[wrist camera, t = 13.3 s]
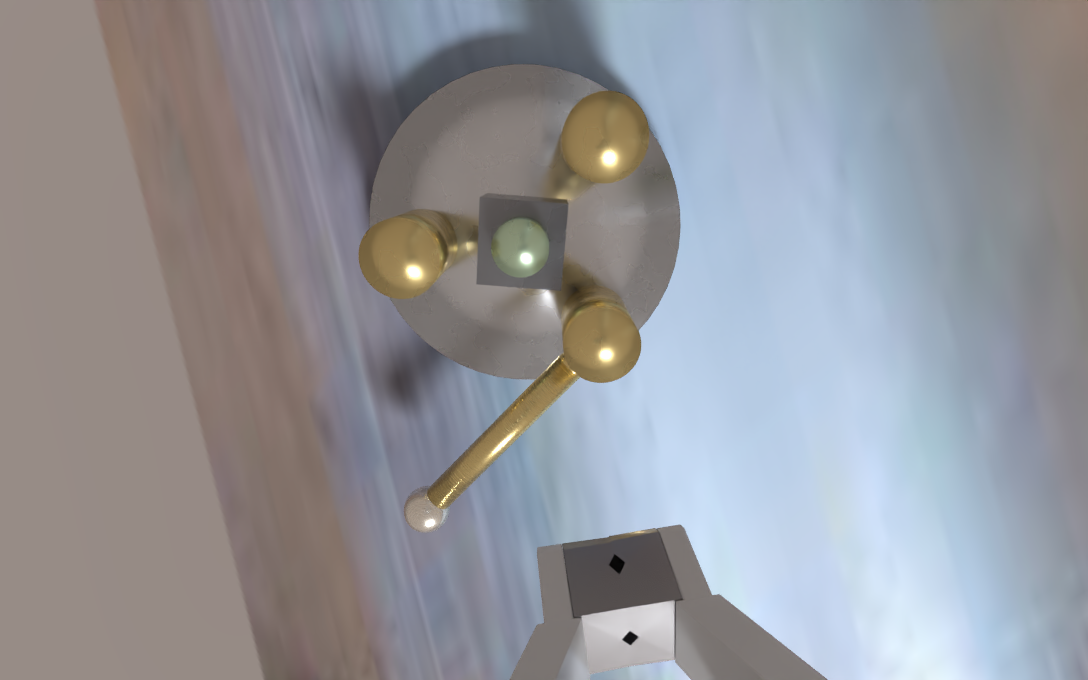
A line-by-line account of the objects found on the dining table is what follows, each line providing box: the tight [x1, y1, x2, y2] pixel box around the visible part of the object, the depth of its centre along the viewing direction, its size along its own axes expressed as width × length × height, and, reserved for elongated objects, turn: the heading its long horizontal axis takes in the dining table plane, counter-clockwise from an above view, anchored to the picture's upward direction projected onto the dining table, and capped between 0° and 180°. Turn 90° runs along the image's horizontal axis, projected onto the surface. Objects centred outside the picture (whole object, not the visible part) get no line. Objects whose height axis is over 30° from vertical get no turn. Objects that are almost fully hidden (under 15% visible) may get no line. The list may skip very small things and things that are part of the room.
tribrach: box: [359, 64, 680, 379], centre depth 33 cm, size 20×20×8 cm
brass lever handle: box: [404, 285, 641, 533], centre depth 35 cm, size 20×4×6 cm, turn 137°
